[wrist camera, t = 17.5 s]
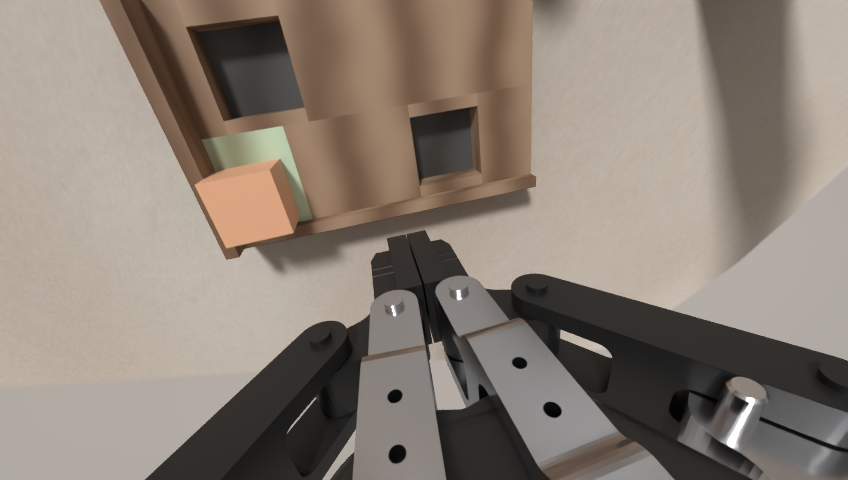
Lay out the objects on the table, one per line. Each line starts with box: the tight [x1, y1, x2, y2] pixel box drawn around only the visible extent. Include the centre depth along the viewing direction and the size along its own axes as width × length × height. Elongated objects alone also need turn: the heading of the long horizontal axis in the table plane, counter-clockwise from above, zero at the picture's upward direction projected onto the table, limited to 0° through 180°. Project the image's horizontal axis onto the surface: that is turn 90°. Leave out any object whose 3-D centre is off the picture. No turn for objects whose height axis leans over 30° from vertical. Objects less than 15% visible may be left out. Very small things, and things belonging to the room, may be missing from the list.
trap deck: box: [100, 0, 536, 260], centre depth 26 cm, size 28×18×5 cm, turn 98°
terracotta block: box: [195, 158, 300, 248], centre depth 25 cm, size 5×5×4 cm
